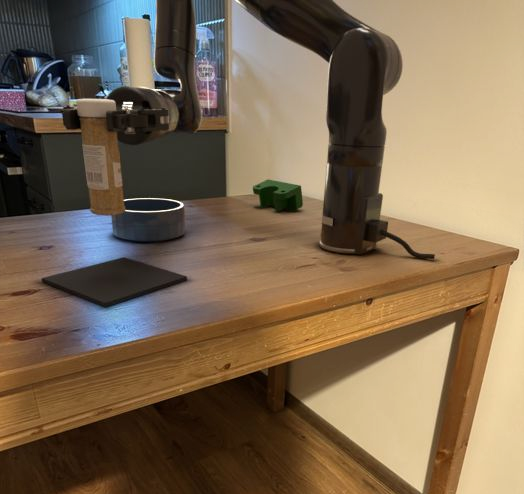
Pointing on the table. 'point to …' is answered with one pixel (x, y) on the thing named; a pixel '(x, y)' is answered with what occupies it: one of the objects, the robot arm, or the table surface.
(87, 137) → the sprinkles bottle
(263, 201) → the clamp
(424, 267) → the table surface
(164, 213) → the bowl
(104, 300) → the mat
